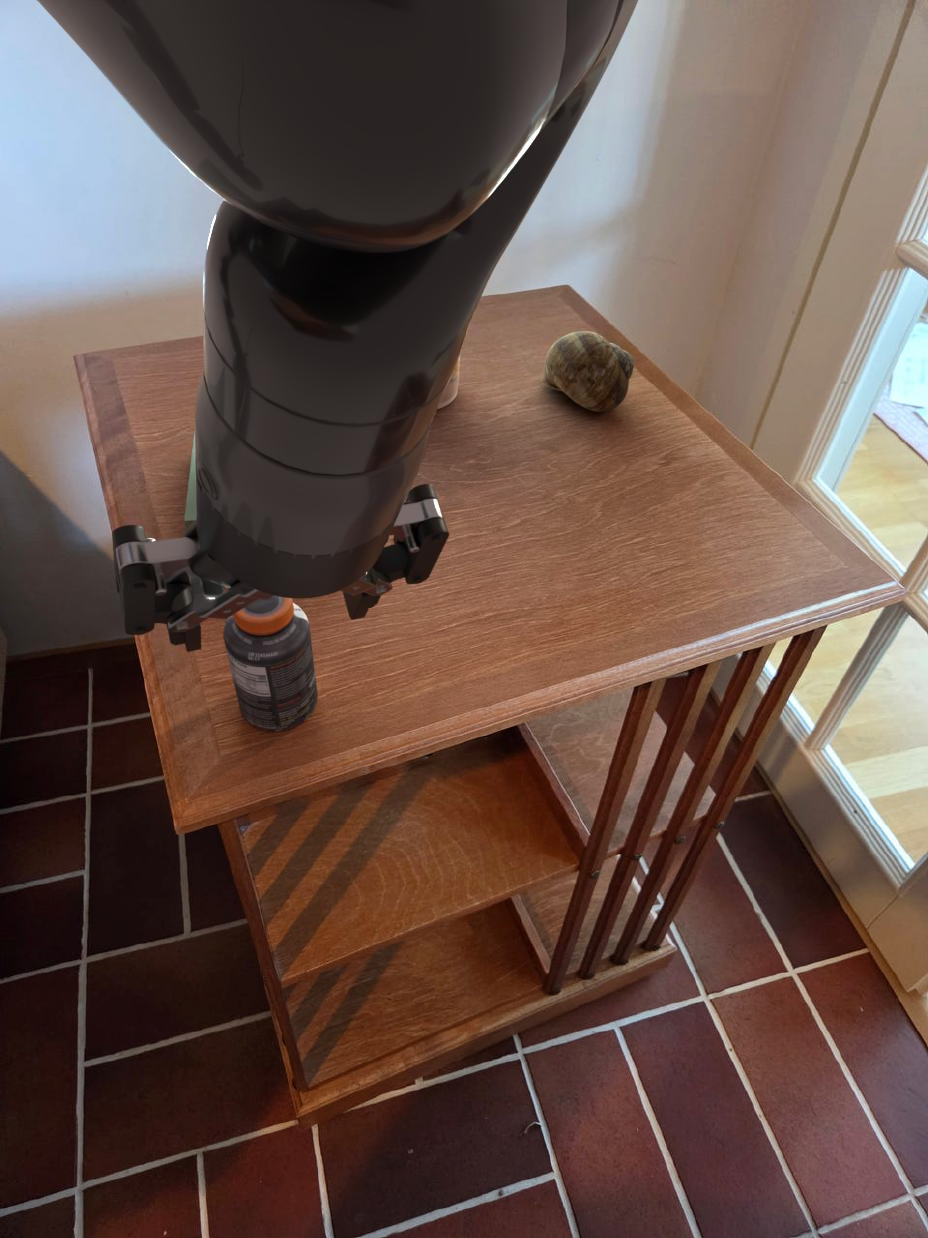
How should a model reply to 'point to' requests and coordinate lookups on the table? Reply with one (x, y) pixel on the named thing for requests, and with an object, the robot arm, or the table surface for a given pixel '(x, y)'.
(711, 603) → the table surface
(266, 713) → the pill bottle
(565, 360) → the seashell
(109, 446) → the table surface
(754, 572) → the table surface
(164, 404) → the table surface
